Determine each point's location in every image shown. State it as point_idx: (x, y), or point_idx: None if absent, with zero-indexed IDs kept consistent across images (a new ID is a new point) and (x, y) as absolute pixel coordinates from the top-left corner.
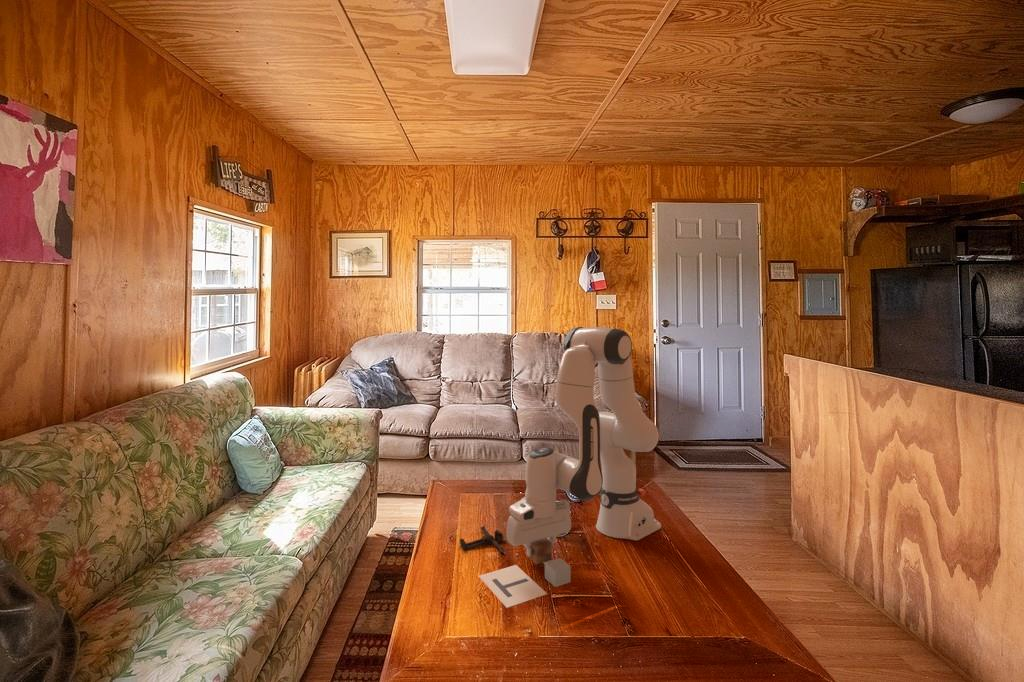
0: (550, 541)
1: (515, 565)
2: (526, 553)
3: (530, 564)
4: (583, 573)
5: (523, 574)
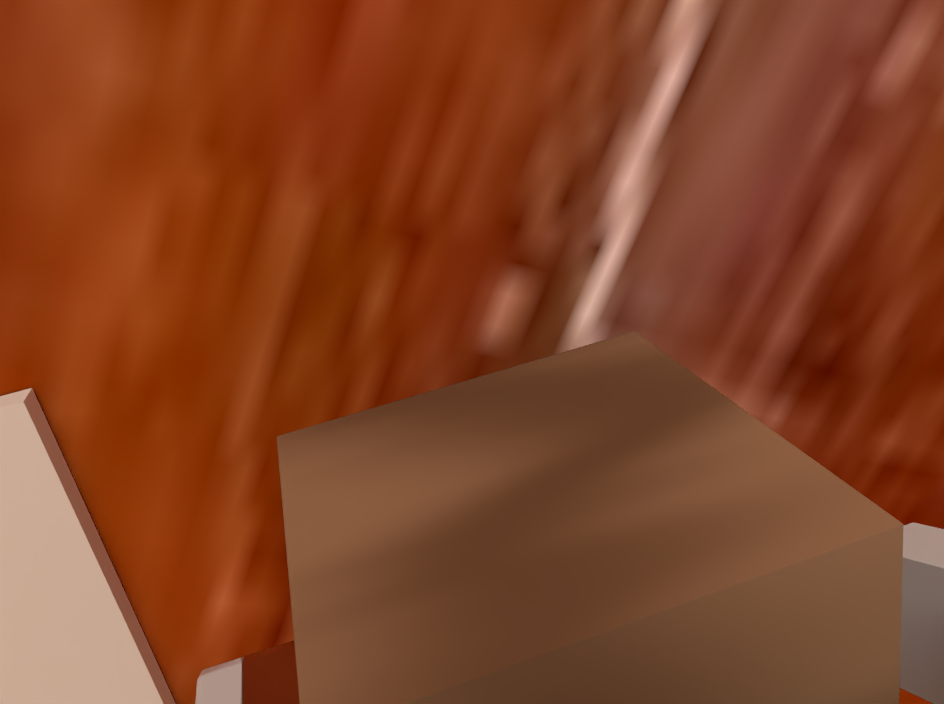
0: (928, 646)
1: (5, 424)
2: (201, 696)
3: (334, 369)
4: None
5: (107, 698)
